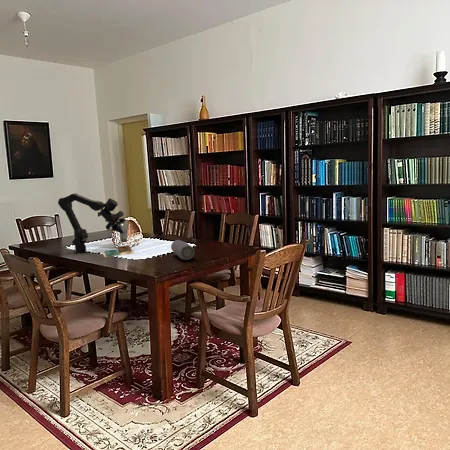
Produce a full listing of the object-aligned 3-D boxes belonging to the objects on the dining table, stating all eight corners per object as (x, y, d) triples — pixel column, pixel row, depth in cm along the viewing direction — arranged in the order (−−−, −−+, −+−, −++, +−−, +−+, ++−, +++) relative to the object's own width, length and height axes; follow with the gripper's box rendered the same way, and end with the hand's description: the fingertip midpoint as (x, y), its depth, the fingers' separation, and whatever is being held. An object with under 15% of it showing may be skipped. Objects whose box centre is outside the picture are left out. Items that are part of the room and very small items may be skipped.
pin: (120, 242, 281) (119, 224, 279) (119, 241, 285) (118, 223, 283) (127, 241, 282) (126, 223, 281) (126, 240, 286) (125, 222, 285)
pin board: (105, 258, 267) (104, 253, 267) (101, 253, 284) (101, 248, 283) (135, 255, 274) (135, 249, 274) (130, 250, 291) (130, 245, 290)
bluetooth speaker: (170, 255, 267) (169, 239, 266) (185, 253, 271) (184, 238, 269) (180, 262, 246) (179, 245, 245) (195, 260, 250) (194, 243, 248)
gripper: (108, 209, 272) (125, 226, 271) (122, 206, 290) (138, 221, 289) (98, 221, 275) (115, 238, 274) (112, 217, 293) (128, 233, 292)
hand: (124, 232), depth 282 cm, fingers closed on pin, 4 cm apart
